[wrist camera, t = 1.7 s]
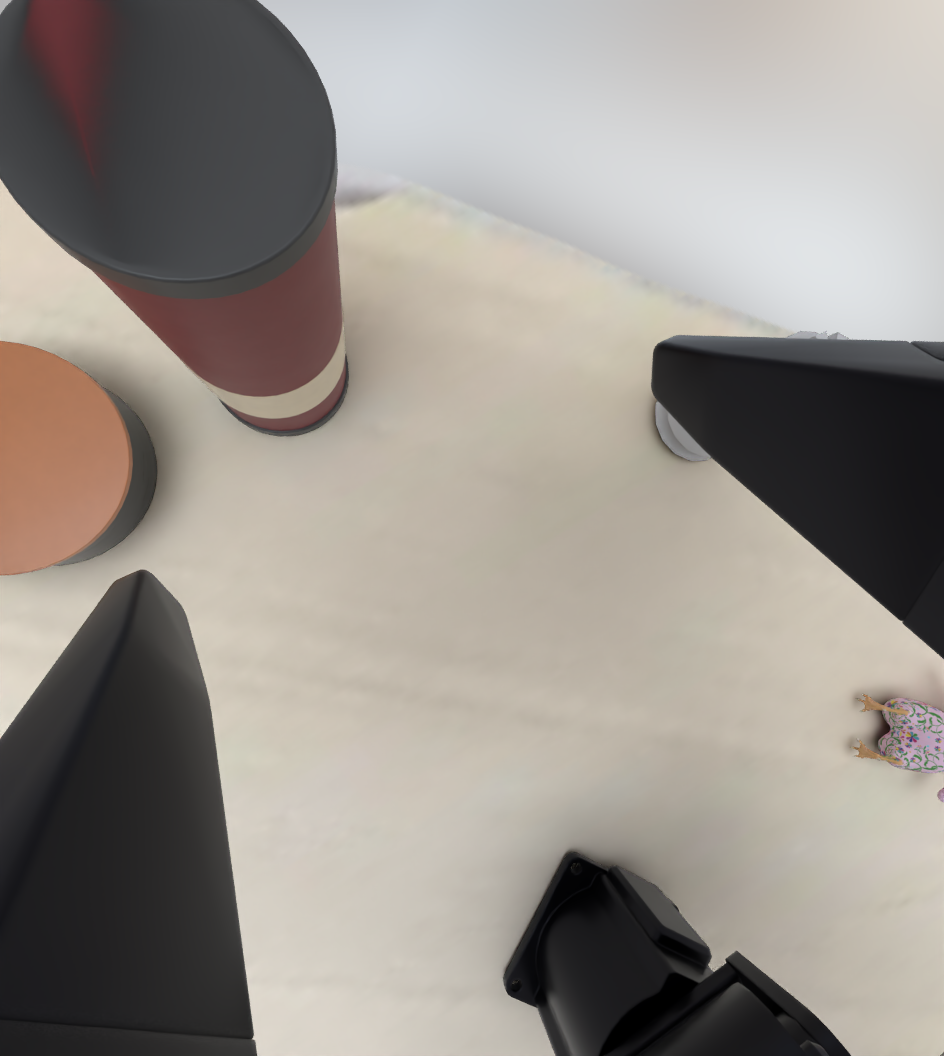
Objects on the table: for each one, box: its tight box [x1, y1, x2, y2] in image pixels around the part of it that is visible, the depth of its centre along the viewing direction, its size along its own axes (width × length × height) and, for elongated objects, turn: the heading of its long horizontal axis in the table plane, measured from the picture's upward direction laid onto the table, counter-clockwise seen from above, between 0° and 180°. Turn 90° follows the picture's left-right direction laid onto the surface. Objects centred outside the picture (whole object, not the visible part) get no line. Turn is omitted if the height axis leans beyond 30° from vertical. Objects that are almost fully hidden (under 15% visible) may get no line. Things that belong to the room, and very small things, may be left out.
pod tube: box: [0, 0, 349, 436], centre depth 15 cm, size 5×5×14 cm
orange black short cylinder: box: [0, 341, 157, 575], centre depth 19 cm, size 8×8×3 cm
